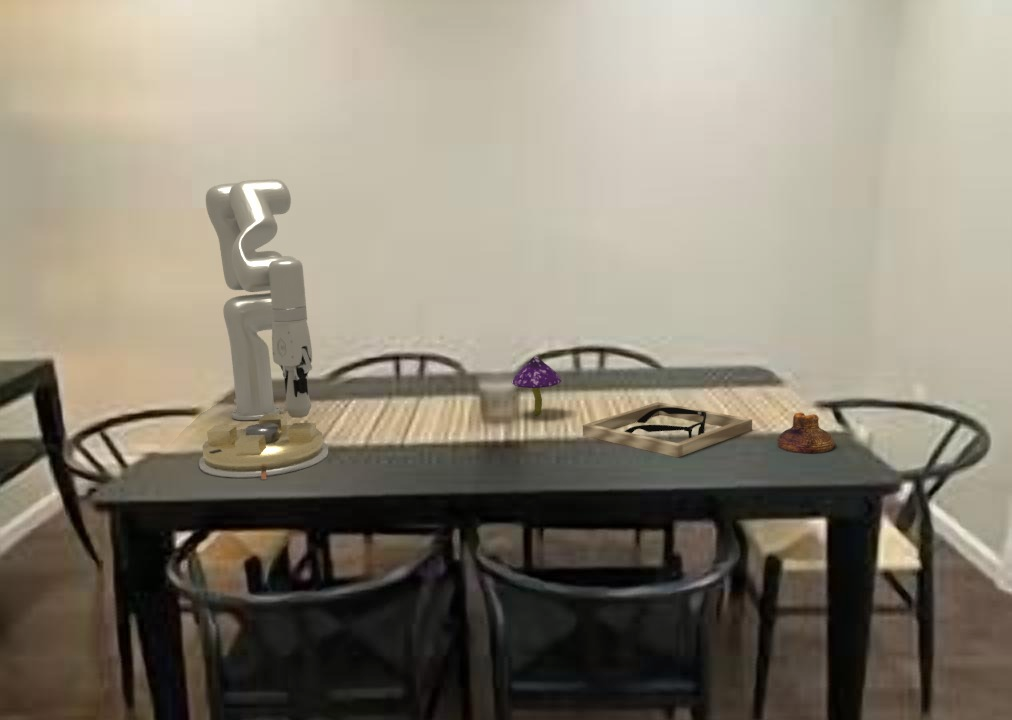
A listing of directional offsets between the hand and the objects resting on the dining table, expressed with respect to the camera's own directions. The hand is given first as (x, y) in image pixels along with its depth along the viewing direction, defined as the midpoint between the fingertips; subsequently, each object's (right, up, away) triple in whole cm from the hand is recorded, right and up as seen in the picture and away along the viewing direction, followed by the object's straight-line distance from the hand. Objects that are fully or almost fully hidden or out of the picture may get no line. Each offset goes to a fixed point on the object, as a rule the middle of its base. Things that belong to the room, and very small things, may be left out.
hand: (297, 394), depth 228 cm
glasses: (+84, -9, +2) cm, 84 cm away
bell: (+112, -11, -13) cm, 113 cm away
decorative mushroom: (+55, -6, +23) cm, 60 cm away
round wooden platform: (-6, -13, -4) cm, 15 cm away
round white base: (-6, -14, -4) cm, 16 cm away
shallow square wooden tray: (+84, -9, +2) cm, 85 cm away
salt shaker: (0, -5, +1) cm, 5 cm away
